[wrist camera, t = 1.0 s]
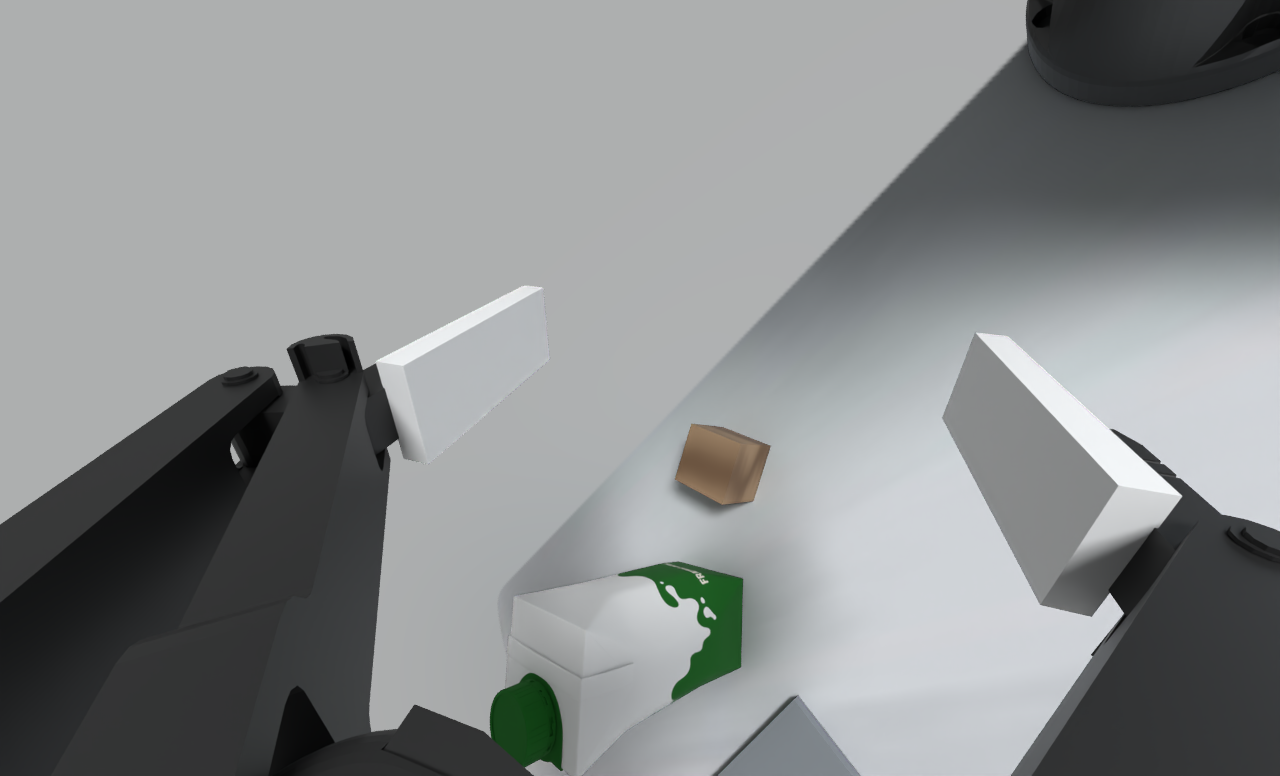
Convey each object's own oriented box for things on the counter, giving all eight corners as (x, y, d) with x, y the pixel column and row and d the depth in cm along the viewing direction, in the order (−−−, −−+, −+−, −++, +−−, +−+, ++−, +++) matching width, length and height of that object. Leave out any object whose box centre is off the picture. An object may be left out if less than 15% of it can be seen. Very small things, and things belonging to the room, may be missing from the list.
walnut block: (723, 427, 42) (691, 423, 38) (771, 446, 39) (740, 443, 35) (708, 478, 43) (674, 479, 39) (753, 501, 39) (722, 504, 35)
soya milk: (667, 646, 43) (466, 738, 29) (672, 548, 44) (480, 587, 30) (751, 683, 37) (550, 822, 23) (753, 568, 38) (563, 629, 24)
